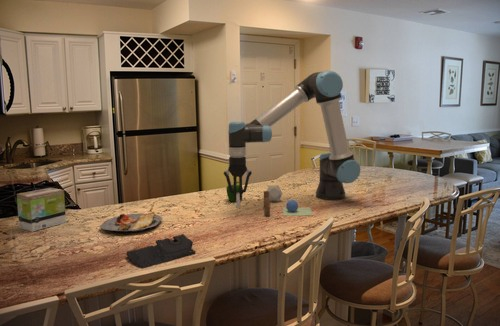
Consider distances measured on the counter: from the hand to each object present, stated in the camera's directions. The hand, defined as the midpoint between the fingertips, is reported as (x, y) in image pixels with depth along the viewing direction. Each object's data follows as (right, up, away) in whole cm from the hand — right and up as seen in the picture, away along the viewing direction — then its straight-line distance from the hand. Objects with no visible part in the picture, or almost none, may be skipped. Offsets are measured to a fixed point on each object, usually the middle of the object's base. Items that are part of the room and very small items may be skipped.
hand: (238, 207), depth 184 cm
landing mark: (+27, -2, 0) cm, 27 cm away
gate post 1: (+13, -1, +6) cm, 15 cm away
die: (+17, +1, +20) cm, 26 cm away
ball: (+25, +1, -1) cm, 25 cm away
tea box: (-81, -6, -15) cm, 83 cm away
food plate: (-43, -6, -17) cm, 47 cm away
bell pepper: (-2, +1, +21) cm, 21 cm away
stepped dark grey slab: (-25, -11, -48) cm, 55 cm away
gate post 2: (+13, -3, -6) cm, 15 cm away
